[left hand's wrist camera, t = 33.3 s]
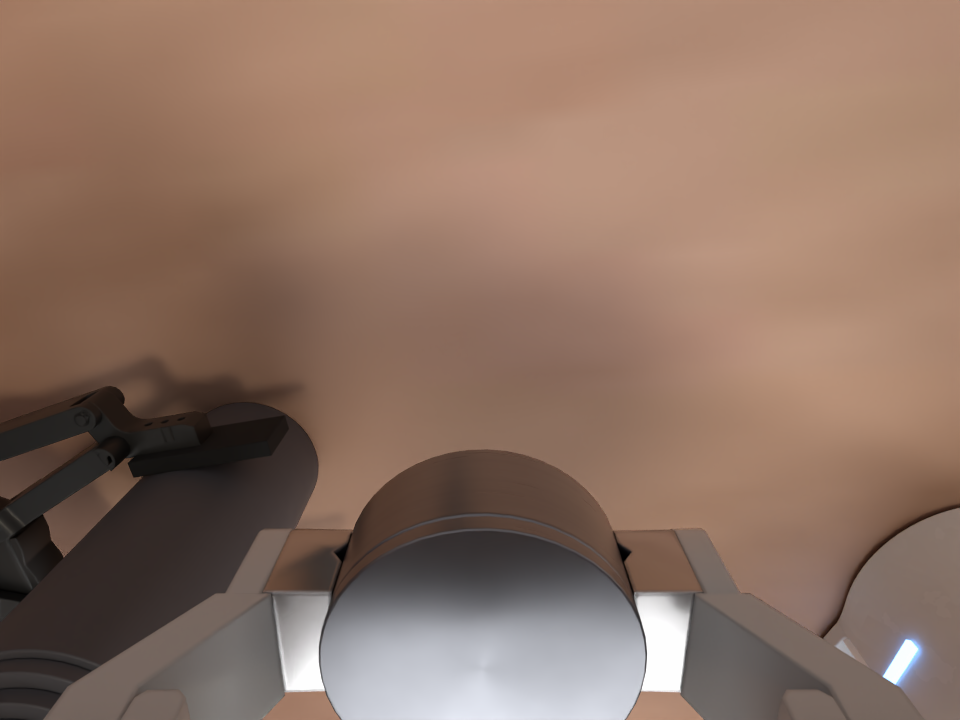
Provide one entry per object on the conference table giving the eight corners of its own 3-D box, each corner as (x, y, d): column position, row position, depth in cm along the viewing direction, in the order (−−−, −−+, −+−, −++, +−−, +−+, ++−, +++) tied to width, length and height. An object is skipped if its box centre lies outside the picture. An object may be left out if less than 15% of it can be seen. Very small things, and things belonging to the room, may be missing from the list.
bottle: (337, 432, 37) (119, 886, 15) (294, 537, 39) (50, 1062, 17) (206, 381, 36) (-240, 786, 14) (170, 491, 38) (-260, 988, 16)
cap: (312, 479, 10) (270, 566, 8) (592, 420, 10) (618, 497, 8) (391, 689, 11) (372, 805, 9) (636, 645, 11) (668, 757, 9)
